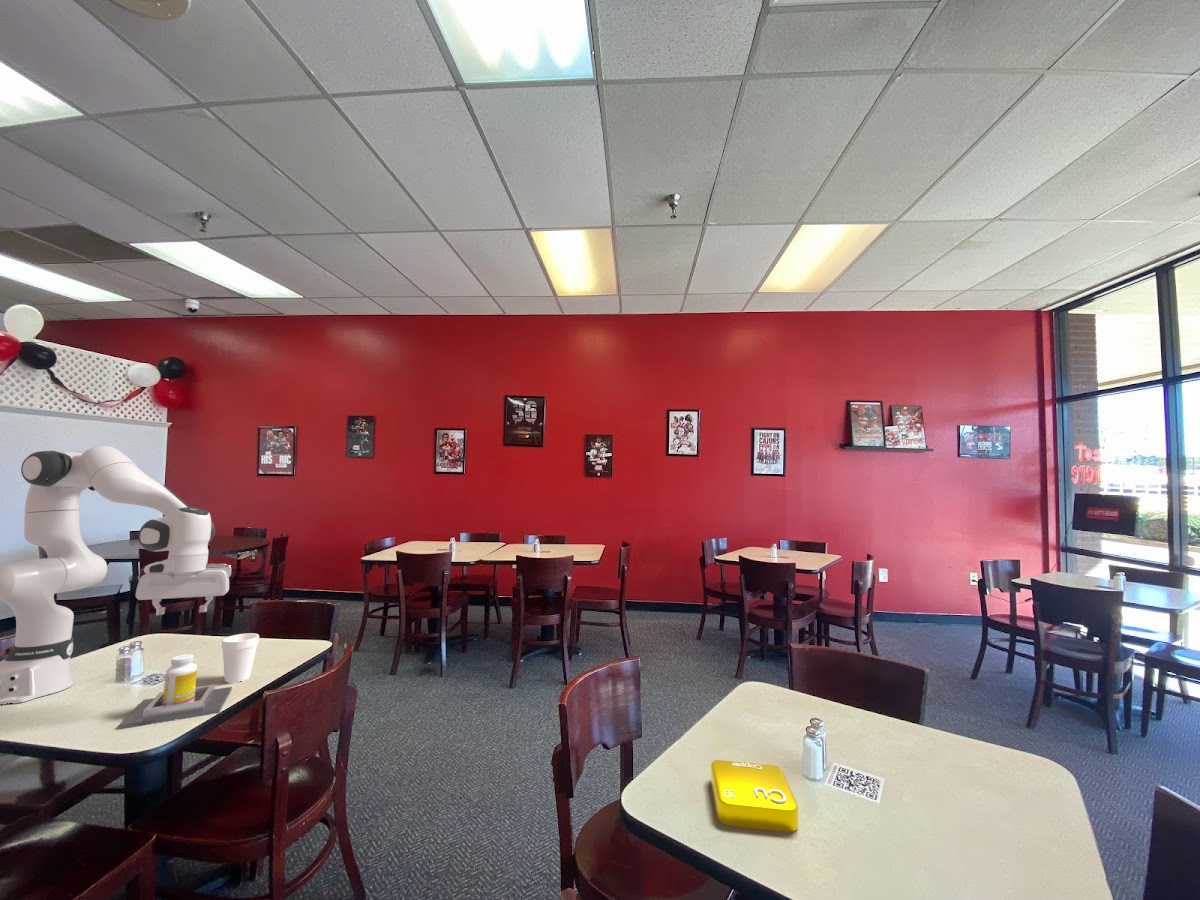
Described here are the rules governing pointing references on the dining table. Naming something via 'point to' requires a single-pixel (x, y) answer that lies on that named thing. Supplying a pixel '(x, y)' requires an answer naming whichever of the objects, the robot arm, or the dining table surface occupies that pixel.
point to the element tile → (753, 796)
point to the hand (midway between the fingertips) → (181, 613)
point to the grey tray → (178, 707)
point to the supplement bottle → (180, 680)
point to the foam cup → (239, 656)
